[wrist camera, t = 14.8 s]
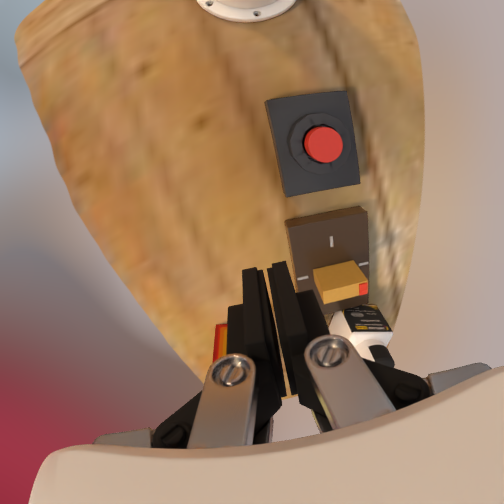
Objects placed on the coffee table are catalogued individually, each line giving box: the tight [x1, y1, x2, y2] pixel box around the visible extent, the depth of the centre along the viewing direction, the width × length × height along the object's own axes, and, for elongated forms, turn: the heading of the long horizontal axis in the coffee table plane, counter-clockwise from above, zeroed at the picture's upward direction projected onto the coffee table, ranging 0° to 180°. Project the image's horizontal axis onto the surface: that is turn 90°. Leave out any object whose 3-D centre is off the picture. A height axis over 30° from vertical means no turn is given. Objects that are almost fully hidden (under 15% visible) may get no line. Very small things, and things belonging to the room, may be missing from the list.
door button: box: [304, 127, 343, 163], centre depth 26 cm, size 4×4×2 cm
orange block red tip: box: [313, 260, 368, 304], centre depth 32 cm, size 6×2×5 cm, turn 102°
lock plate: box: [285, 206, 369, 315], centre depth 36 cm, size 14×10×3 cm
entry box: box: [265, 91, 360, 197], centre depth 28 cm, size 11×9×4 cm
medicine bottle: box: [328, 305, 395, 368], centre depth 36 cm, size 7×7×12 cm
